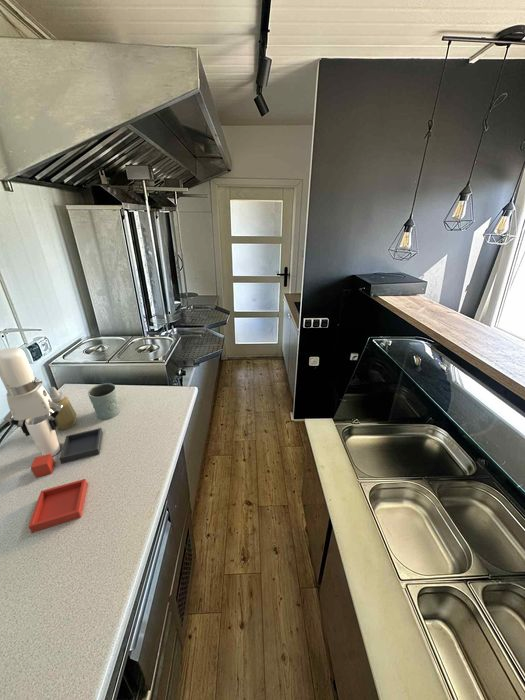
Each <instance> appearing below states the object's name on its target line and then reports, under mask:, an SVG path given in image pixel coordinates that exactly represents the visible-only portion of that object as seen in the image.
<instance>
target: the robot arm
mask: <svg viewBox="0 0 525 700" xmlns="http://www.w3.org/2000/svg"><path fill="white" fill-rule="evenodd" d="M35 376H36V375H35V374H34V371H33V368H32V367H31V365H30V362H29V359H28V357H27V354H26V352H25V350H23V349H22V348H20V347H6V348H3V349H0V380H1V382H2V383H3V385H4V388H5V390H6V401H7V405H8V408H9V411H8V413H7V414H5V416H4V418H3V420H4V421H6V422H8V423H11V424H13V425H15V426H17V427H18V428H20V429H21V431H22V433H23V434H25V437H29V436H31V435H30V434H29V432H28V430H27V427H26V425H25V421H26V420H27V419H30V418H35V417H40V416H46V417H47V418H49V419H50V421H49V423H50V425H51V428H52V430H55V431H56V430H57V428H58V427H57V426H58V421H57V419H56V416H57V415H58V413H59V412H60V410H61V409H62V407H63V405H61V404H58V403H55V402H52V400H51V398H50V394H49V392H48V391H47V390H46V388H45V387H44V386H43V385H42V384H43V380H42V379H37V377H35ZM52 407H53V408H55V409H56V410H55V411H52V410H51V409H50V408H52Z"/></svg>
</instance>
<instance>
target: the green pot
mask: <svg viewBox="0 0 525 700" xmlns="http://www.w3.org/2000/svg"><path fill="white" fill-rule="evenodd" d="M87 395H88V398H89V400H90V402H91V404H92V407H93V409H94V412H95V416H96V417H97V419H99V420H101V421H106V420H111V419H113V418H115V417H116V416H118V415H119V413H120V404H119V400H118V393H117V386H116V385H115V384H113V383H111V382H104V383H100V384H96V385H94V386H93V387H91V388H90V389H89V390H88V391H87Z"/></svg>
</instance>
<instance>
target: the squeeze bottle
mask: <svg viewBox="0 0 525 700" xmlns="http://www.w3.org/2000/svg"><path fill="white" fill-rule="evenodd" d="M49 396H50V398H51V400H52V402H55V403H58V404H61V405H63V407H62V409H61V410H60V412H59V413H58V415H57V416H56V419H57V421H58V426H57V427H56V428H58V430H60V431H65V430H69V429H71V428H73V427H75V425H76V424H77V412H76V410H75V409H74V407H73V405H72V403H71V402H70V399H69V398H68V397H67V396H64V392H62V391H58V389H56V387H55V386H51V387H50V394H49ZM50 409H51V410H52V411H55V410H56V409H55V408H53V407H52V408H50Z"/></svg>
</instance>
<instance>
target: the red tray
mask: <svg viewBox="0 0 525 700" xmlns="http://www.w3.org/2000/svg"><path fill="white" fill-rule="evenodd" d="M87 488H88V482H87V479H86V478H83V479H79V480H75V481H72V482H68V483H65V484H61V485H57V486H53V487H50V488H47V489H43V490H40V493H39V495H38V499H37V501H36V504H35V507H34V510H33V513H32V515H31V518H30V521H29V524H28V529H29V531H30V532H31V534H33V533H37V532H39V531H42V530H46V529H49V528H52V527H56V526H59V525H62V524H65V523H68V522H71V521H74V520H78V519H80V518H82V515H83V510H84V505H85V500H86V494H87V490H88V489H87Z"/></svg>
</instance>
